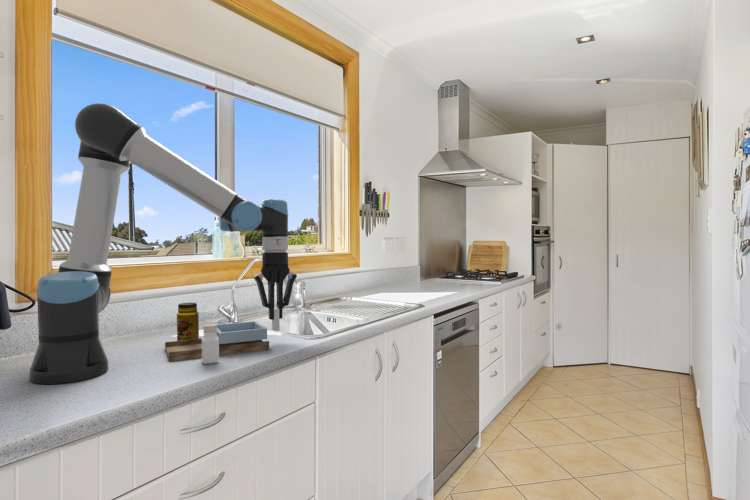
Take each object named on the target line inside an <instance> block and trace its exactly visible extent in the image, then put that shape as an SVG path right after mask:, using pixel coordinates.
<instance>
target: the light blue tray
mask: <svg viewBox="0 0 750 500" xmlns="http://www.w3.org/2000/svg"><path fill="white" fill-rule="evenodd" d="M216 325H217V332H216V334H217V337H218V338H219V344H223V345H222V346H227V345H230V344H229V343H236V342H245V341H254V340H256V341H255V342H262V341H265V340H268V327H266V326H264V325H262V324H261V323H259V322H258V321H256V320H253V321H241V322H229V323H219V324H216Z"/></svg>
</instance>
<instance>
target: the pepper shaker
mask: <svg viewBox="0 0 750 500" xmlns="http://www.w3.org/2000/svg"><path fill="white" fill-rule="evenodd" d="M202 327H203V328H202V329H203V337H201V338H202V357H201V363H202V364H203V365H208V364H209V365H212V364H217V363H219V362H220V355H219V338H218V337H217V334H216V332H217V324H216V323H208V324H204V325H203V326H202Z"/></svg>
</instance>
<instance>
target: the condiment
mask: <svg viewBox="0 0 750 500" xmlns="http://www.w3.org/2000/svg"><path fill="white" fill-rule="evenodd" d="M197 306H198V304H197V303H196V302H182V303H179V304H178V305H177V307H178V308H177V314H176V339H177V340H176V341H181V340H191V339H201V338H202V337H200V329H199V327H200V325H199V322H200V321H199V318H200V317H199V312H198V307H197Z"/></svg>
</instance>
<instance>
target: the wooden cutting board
mask: <svg viewBox="0 0 750 500" xmlns="http://www.w3.org/2000/svg"><path fill="white" fill-rule="evenodd" d="M200 338H201V339H191V340H181V341H177V340H173V341H164V351H165V353H166V357H167V359H168V362H173V361H174V362H175V361H183V360H184V361H185V360H191V359H192V360H193V359H199V358H201V359H202V338H203V337H200ZM255 341H256V340H254V341H245V342H236V343H229V344H230V345H227V346H222V345H223V344H219V356H225V355H226V356H227V355H231V354H232V355H233V354H241V353H250V352H257V351H258V352H259V351H265V350H267V351H268V350H270V340H262V342H255Z"/></svg>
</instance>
